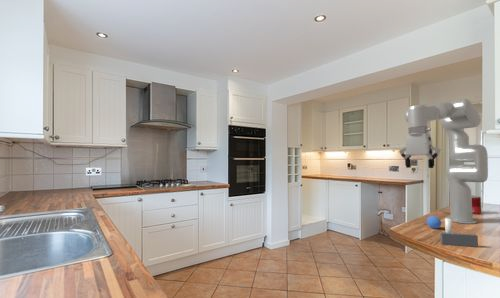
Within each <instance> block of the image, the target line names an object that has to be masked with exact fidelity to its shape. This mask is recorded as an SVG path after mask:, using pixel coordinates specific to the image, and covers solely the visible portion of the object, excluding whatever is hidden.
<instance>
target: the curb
mask: <svg viewBox="0 0 500 298" xmlns="http://www.w3.org/2000/svg"><path fill="white" fill-rule="evenodd" d="M478 238H479V237H478V235H477V234H475V233H460V232H452V233H446V232H445V231H444V232H443V231H440V232H439V240H440V241H439V242H440V244H441V245H446V246H457V247H469V248H470V247H471V248H479V239H478Z"/></svg>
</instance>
